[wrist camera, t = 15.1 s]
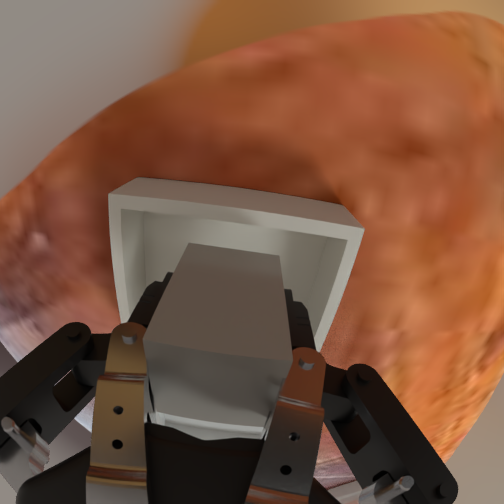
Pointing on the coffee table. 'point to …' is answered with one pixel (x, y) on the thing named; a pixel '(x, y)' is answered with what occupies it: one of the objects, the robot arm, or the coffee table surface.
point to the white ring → (347, 493)
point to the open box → (232, 238)
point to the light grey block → (220, 337)
